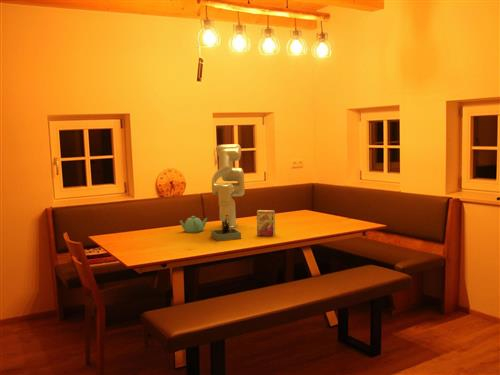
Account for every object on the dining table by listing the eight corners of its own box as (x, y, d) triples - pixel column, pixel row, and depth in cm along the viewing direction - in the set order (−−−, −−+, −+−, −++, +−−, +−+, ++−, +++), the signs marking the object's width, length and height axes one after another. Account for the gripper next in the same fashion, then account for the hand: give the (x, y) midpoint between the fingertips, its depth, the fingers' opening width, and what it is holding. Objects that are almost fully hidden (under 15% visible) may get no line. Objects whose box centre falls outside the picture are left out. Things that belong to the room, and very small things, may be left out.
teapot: (178, 233, 358) (177, 217, 357) (189, 228, 372) (188, 214, 371) (198, 233, 352) (197, 218, 351) (208, 229, 366) (207, 214, 365)
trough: (211, 236, 341) (211, 230, 341) (234, 234, 346) (234, 228, 345) (216, 241, 326) (216, 234, 326) (241, 238, 331) (240, 232, 330)
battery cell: (221, 234, 337) (221, 220, 336) (228, 233, 338) (227, 220, 337) (223, 235, 333) (222, 221, 332) (230, 234, 334) (229, 221, 333)
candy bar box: (257, 235, 338) (256, 211, 336) (259, 234, 343) (258, 209, 341) (273, 236, 334) (272, 211, 333) (275, 234, 339) (274, 210, 337)
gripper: (215, 202, 340) (217, 229, 342) (222, 205, 324) (223, 234, 326) (227, 201, 343) (228, 228, 345) (233, 204, 327) (234, 233, 328)
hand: (225, 231), depth 335 cm, fingers closed on battery cell, 4 cm apart
